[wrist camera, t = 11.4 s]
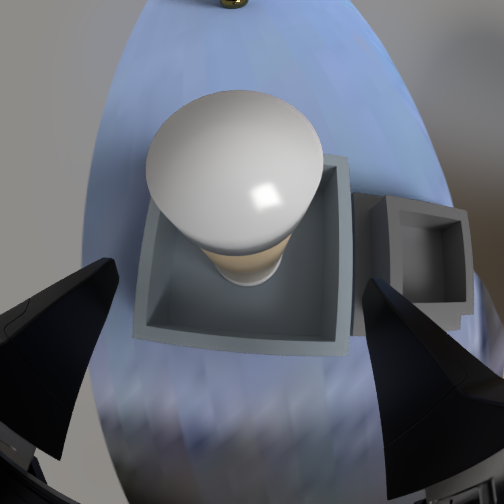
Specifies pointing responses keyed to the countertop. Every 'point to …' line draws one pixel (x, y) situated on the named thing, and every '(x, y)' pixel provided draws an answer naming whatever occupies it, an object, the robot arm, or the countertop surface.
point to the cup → (233, 3)
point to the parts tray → (259, 297)
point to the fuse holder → (413, 256)
